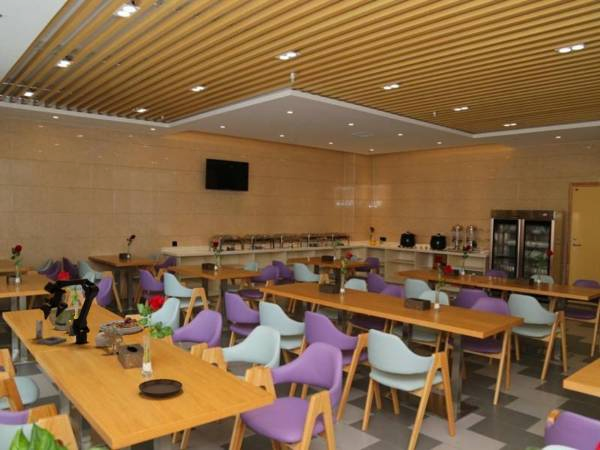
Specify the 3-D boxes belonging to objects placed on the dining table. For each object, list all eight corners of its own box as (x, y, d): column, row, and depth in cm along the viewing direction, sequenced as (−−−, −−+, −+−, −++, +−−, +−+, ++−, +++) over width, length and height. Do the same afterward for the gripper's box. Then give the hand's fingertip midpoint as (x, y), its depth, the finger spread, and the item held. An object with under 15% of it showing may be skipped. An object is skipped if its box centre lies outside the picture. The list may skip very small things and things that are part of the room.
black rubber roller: (78, 334, 351) (78, 324, 350) (73, 336, 346) (73, 326, 346) (73, 334, 352) (73, 324, 352) (68, 335, 348) (68, 325, 348)
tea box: (61, 331, 360) (62, 310, 359) (54, 328, 366) (54, 308, 366) (81, 327, 372) (82, 307, 371) (74, 325, 378) (74, 306, 377)
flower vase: (95, 358, 320) (110, 356, 302) (87, 329, 321) (102, 326, 303) (114, 351, 329) (130, 349, 311) (107, 323, 330) (122, 320, 312)
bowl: (135, 336, 352) (135, 325, 352) (92, 335, 353) (92, 323, 353) (148, 327, 382) (149, 316, 382) (109, 325, 383) (109, 315, 382)
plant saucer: (186, 385, 257) (186, 378, 257) (177, 400, 236) (177, 393, 236) (145, 384, 256) (145, 377, 256) (132, 399, 235) (133, 392, 235)
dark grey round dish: (66, 341, 332) (66, 338, 332) (51, 345, 321) (51, 342, 321) (53, 339, 336) (53, 336, 336) (37, 343, 325) (37, 340, 325)
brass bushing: (73, 332, 356) (74, 320, 356) (69, 333, 352) (69, 321, 352) (69, 332, 357) (69, 319, 357) (64, 333, 354) (65, 320, 354)
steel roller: (43, 338, 339) (44, 320, 339) (38, 339, 335) (39, 321, 335) (39, 337, 340) (39, 319, 340) (34, 338, 337) (34, 320, 336)
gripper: (59, 290, 347) (53, 311, 349) (37, 294, 329) (30, 315, 331) (71, 297, 343) (64, 317, 345) (49, 301, 326) (42, 323, 328)
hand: (50, 318), depth 338 cm, fingers open, 9 cm apart
